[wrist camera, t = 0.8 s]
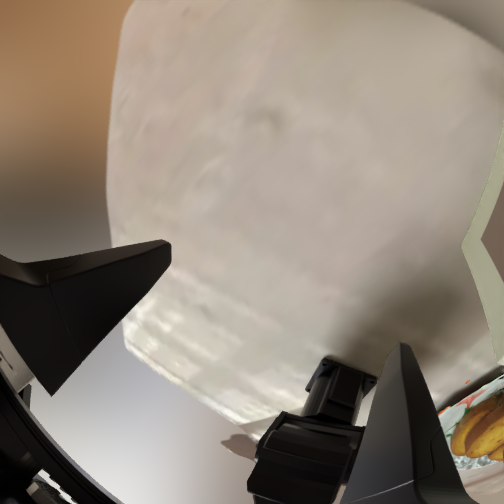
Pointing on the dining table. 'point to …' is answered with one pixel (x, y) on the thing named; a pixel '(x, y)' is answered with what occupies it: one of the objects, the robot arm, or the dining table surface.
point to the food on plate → (476, 427)
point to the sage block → (490, 251)
